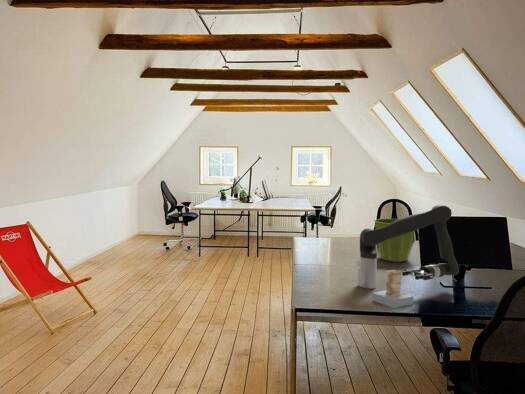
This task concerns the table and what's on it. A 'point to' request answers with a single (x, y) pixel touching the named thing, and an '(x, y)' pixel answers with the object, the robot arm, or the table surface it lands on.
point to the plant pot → (394, 244)
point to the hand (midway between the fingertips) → (409, 275)
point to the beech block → (393, 283)
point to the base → (393, 299)
